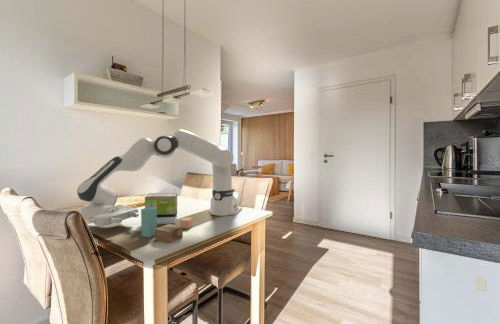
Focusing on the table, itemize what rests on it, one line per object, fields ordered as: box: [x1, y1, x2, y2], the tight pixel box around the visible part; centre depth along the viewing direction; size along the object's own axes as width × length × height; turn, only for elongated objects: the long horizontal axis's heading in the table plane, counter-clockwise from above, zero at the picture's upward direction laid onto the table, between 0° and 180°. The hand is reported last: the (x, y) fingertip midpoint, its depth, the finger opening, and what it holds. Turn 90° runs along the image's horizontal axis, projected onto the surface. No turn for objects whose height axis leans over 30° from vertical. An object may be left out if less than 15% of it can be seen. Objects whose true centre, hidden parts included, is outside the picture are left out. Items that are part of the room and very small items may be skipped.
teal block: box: [140, 207, 158, 238], centre depth 109 cm, size 4×4×12 cm
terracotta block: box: [179, 217, 193, 229], centre depth 121 cm, size 4×4×4 cm
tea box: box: [144, 192, 178, 225], centre depth 129 cm, size 15×10×15 cm, turn 101°
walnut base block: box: [154, 224, 184, 244], centre depth 105 cm, size 8×8×5 cm
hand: (129, 217), depth 113 cm, fingers open, 8 cm apart
